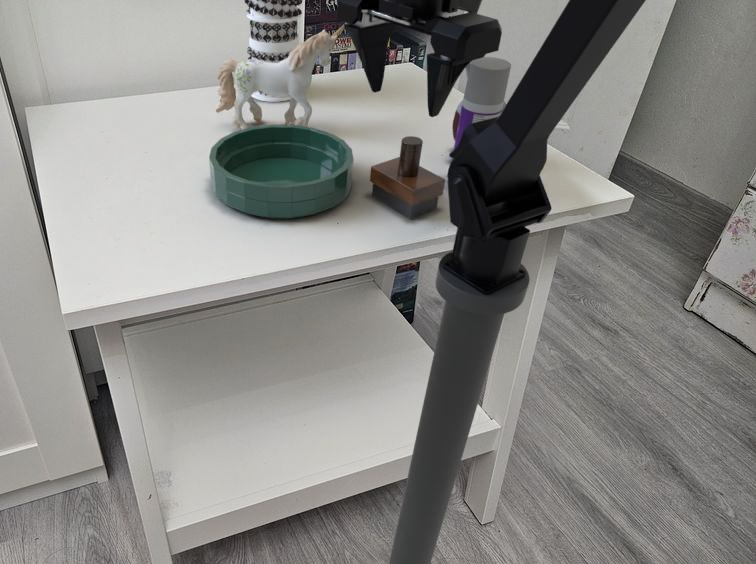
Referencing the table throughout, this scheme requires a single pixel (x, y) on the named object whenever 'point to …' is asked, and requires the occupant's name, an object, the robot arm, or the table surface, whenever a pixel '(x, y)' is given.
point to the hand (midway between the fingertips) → (403, 103)
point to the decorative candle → (272, 34)
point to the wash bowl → (281, 170)
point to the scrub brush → (407, 182)
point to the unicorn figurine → (275, 79)
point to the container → (483, 92)
